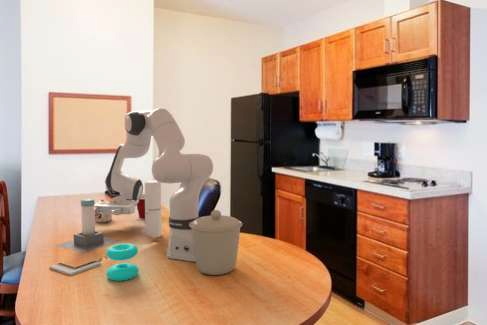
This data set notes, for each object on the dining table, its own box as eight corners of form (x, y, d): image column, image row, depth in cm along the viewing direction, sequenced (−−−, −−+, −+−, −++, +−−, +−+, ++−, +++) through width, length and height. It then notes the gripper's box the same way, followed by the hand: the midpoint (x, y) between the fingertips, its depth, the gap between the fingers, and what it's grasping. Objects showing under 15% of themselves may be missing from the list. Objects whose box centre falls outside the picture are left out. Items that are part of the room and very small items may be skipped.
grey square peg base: (121, 244, 157) (120, 231, 156) (83, 256, 141) (82, 242, 141) (93, 237, 166) (93, 225, 165) (55, 248, 151) (55, 235, 150)
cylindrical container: (157, 238, 166) (156, 183, 164) (142, 237, 167) (141, 182, 165) (164, 233, 173) (163, 180, 171) (149, 232, 174) (148, 180, 172)
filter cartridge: (98, 242, 154) (97, 199, 153) (87, 245, 150) (86, 201, 148) (90, 240, 157) (89, 198, 155) (79, 243, 153) (78, 200, 151)
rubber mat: (101, 264, 133) (101, 262, 133) (70, 275, 123) (70, 273, 123) (80, 258, 139) (80, 256, 139) (49, 268, 129) (49, 266, 129)
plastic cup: (142, 220, 199) (142, 198, 198) (130, 217, 205) (129, 195, 204) (158, 216, 208) (158, 195, 207) (146, 213, 214) (145, 193, 213)
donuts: (143, 247, 122) (114, 254, 115) (144, 276, 122) (115, 285, 116) (129, 240, 129) (100, 246, 122) (129, 268, 130) (101, 276, 123)
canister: (215, 257, 141) (215, 202, 139) (252, 268, 130) (252, 209, 128) (179, 271, 127) (178, 210, 125) (217, 285, 116) (217, 219, 114)
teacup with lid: (90, 220, 197) (90, 199, 196) (106, 217, 204) (105, 196, 203) (102, 224, 190) (102, 202, 189) (118, 221, 197) (118, 199, 196)
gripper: (98, 198, 180) (81, 204, 166) (137, 200, 177) (124, 206, 163) (98, 211, 180) (82, 217, 167) (138, 213, 177) (124, 220, 164)
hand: (103, 212), depth 165 cm, fingers open, 8 cm apart
